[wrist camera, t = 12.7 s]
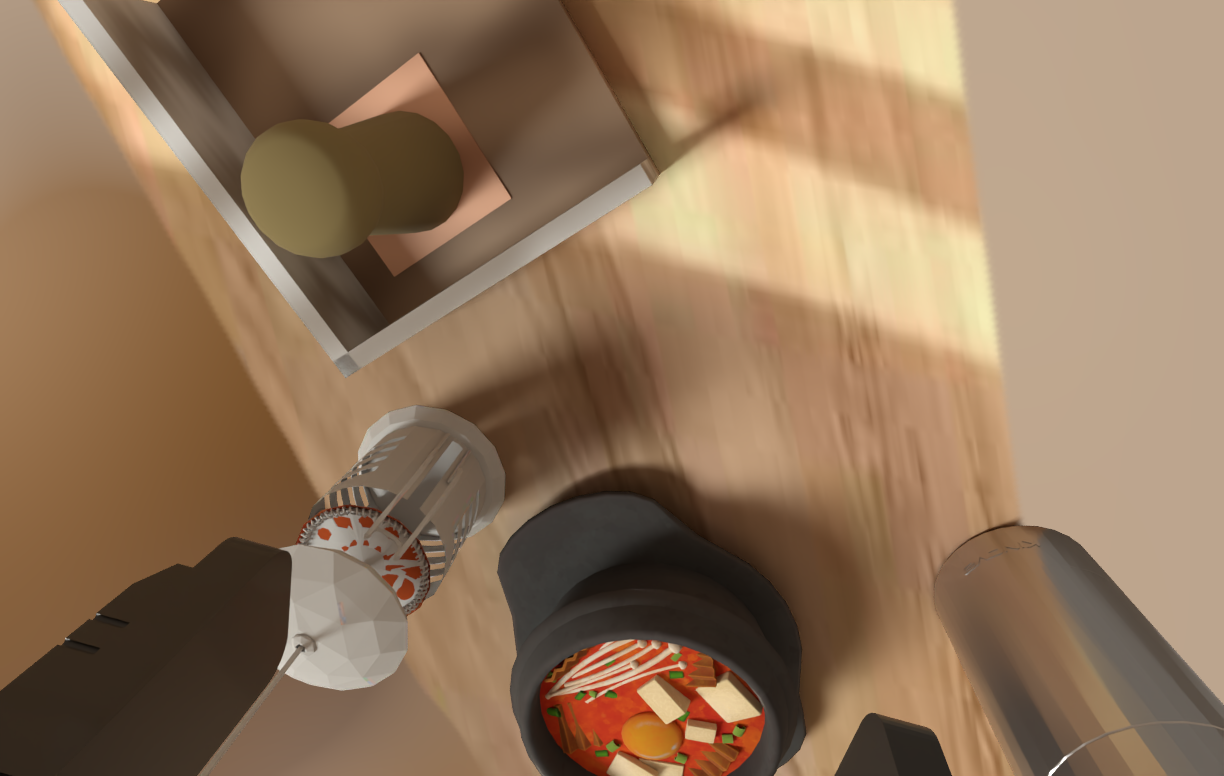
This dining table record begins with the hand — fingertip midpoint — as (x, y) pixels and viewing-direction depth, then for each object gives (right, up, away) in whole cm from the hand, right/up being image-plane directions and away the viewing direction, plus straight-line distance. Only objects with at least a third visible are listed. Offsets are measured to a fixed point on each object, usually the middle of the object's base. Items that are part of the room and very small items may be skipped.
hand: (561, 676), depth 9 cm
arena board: (-10, +19, +26) cm, 34 cm away
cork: (-10, +15, +26) cm, 32 cm away
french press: (-10, -1, +34) cm, 36 cm away
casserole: (+4, -13, +37) cm, 39 cm away
